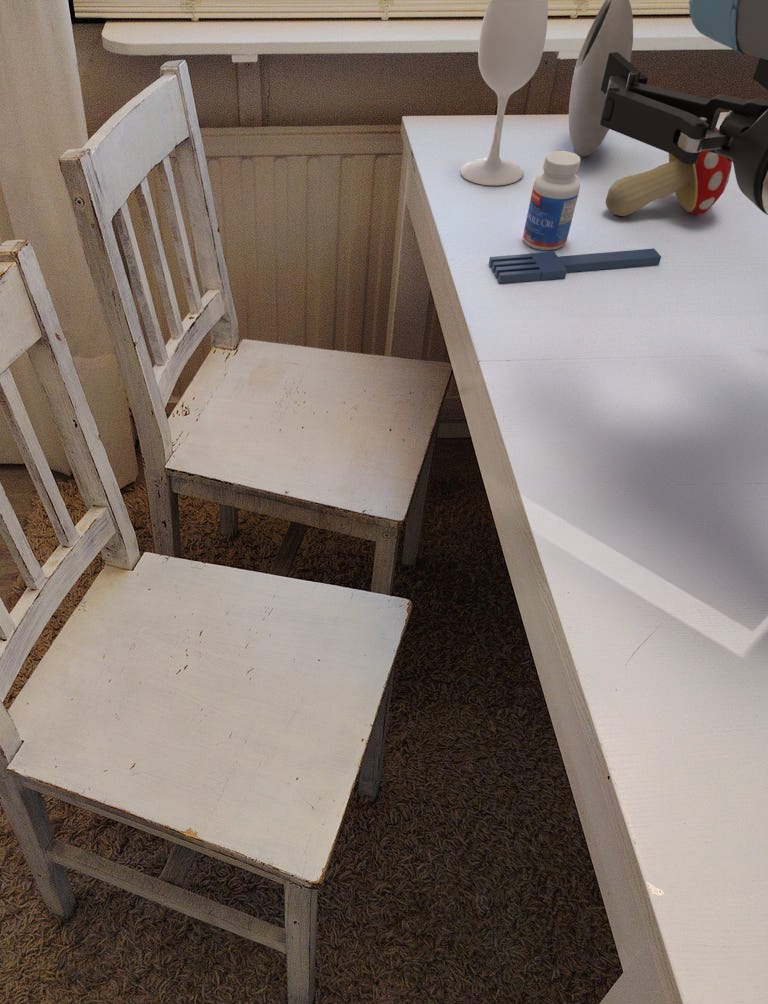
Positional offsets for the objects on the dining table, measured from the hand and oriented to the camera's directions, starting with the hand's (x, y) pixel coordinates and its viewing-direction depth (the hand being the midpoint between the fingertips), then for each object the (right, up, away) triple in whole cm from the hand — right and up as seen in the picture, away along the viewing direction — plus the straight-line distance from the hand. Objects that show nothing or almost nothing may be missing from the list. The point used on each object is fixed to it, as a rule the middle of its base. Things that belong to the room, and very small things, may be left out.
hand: (686, 65), depth 70 cm
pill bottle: (-2, +1, +33) cm, 33 cm away
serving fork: (+1, -4, +28) cm, 29 cm away
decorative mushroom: (+14, +7, +38) cm, 41 cm away
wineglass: (-5, +17, +46) cm, 49 cm away
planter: (+9, +22, +50) cm, 55 cm away
